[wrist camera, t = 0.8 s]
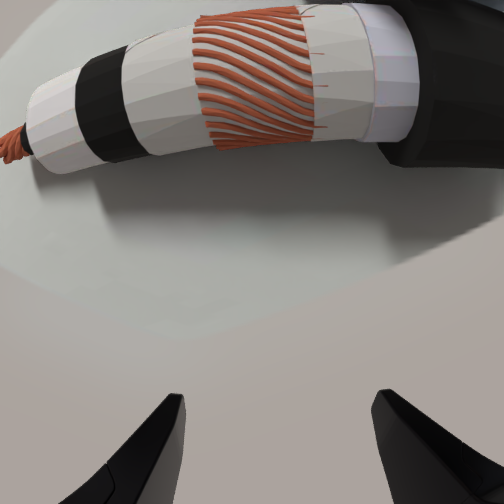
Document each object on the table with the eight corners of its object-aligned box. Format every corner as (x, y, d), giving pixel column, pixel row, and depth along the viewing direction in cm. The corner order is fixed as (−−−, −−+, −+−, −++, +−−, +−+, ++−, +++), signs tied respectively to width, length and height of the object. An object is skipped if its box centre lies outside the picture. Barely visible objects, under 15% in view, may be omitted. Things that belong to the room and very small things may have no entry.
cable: (59, 117, 21) (-18, 60, 11) (465, 72, 17) (517, -8, 7) (43, 232, 20) (-62, 204, 10) (506, 189, 16) (600, 136, 6)
